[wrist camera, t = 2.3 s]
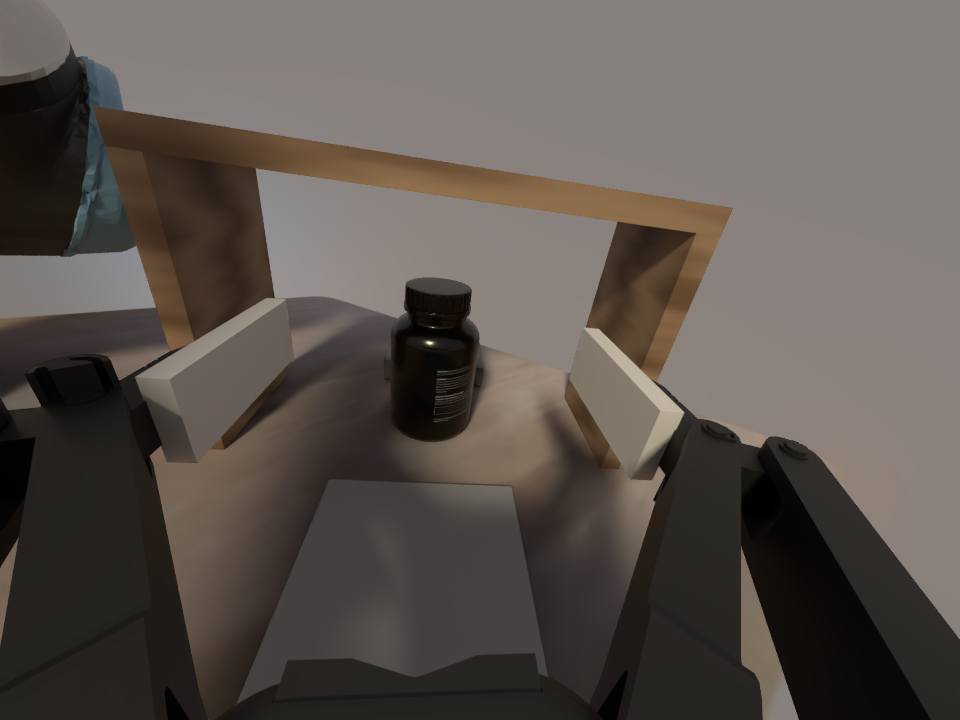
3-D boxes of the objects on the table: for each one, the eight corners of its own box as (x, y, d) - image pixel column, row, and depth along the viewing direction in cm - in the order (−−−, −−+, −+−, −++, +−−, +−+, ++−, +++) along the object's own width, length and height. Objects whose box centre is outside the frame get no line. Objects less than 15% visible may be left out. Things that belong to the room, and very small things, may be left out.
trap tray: (480, 386, 36) (483, 368, 35) (383, 378, 35) (384, 359, 34) (477, 359, 41) (479, 343, 40) (393, 352, 40) (393, 335, 39)
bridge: (618, 468, 27) (732, 208, 19) (200, 448, 24) (92, 105, 15) (578, 398, 36) (642, 199, 27) (269, 375, 32) (227, 133, 23)
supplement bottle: (467, 399, 33) (485, 279, 28) (468, 448, 27) (491, 306, 22) (396, 393, 33) (400, 268, 27) (381, 441, 27) (382, 293, 21)
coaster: (217, 769, 12) (212, 762, 11) (330, 487, 22) (329, 479, 22) (555, 749, 13) (560, 741, 13) (509, 494, 24) (511, 486, 23)
